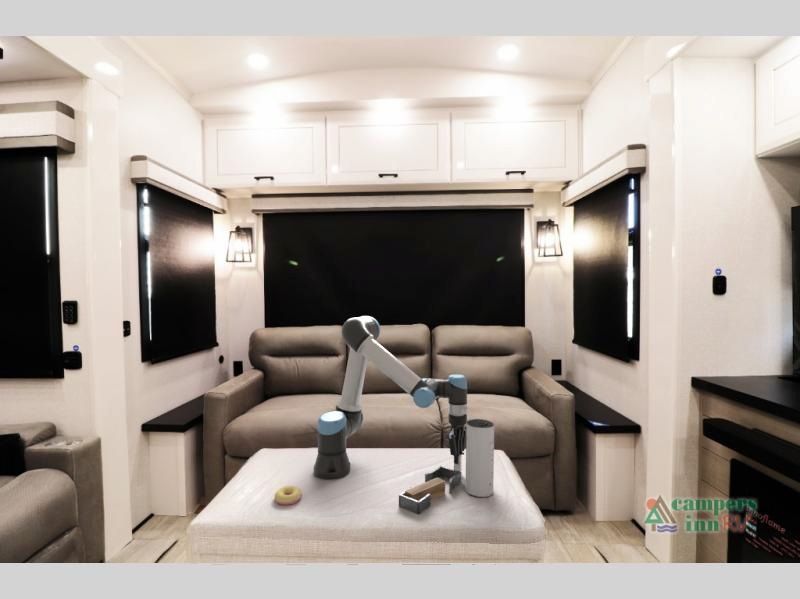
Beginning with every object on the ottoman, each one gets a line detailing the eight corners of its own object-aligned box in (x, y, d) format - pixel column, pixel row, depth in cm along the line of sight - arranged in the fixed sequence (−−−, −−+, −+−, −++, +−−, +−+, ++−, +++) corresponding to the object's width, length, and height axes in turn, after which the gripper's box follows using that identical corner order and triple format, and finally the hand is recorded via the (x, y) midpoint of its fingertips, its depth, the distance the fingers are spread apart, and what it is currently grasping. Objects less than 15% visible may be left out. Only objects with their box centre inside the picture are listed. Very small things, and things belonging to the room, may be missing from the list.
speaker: (476, 481, 160) (477, 415, 160) (499, 490, 153) (500, 422, 152) (459, 490, 153) (460, 421, 152) (483, 501, 146) (484, 429, 145)
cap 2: (424, 484, 158) (424, 473, 158) (438, 474, 166) (438, 465, 166) (451, 493, 151) (451, 482, 151) (463, 482, 159) (463, 472, 159)
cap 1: (398, 506, 142) (398, 494, 142) (410, 498, 148) (410, 487, 148) (419, 514, 137) (419, 502, 137) (430, 505, 143) (430, 494, 142)
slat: (405, 504, 144) (405, 490, 144) (437, 490, 154) (437, 477, 154) (412, 509, 141) (412, 495, 140) (445, 494, 151) (445, 481, 151)
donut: (297, 497, 153) (272, 498, 149) (299, 484, 154) (273, 485, 150) (303, 505, 144) (276, 507, 140) (304, 491, 145) (277, 493, 141)
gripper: (457, 419, 159) (457, 479, 159) (473, 411, 169) (473, 467, 170) (441, 415, 163) (441, 473, 164) (457, 408, 173) (457, 462, 174)
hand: (457, 470), depth 167 cm, fingers closed
